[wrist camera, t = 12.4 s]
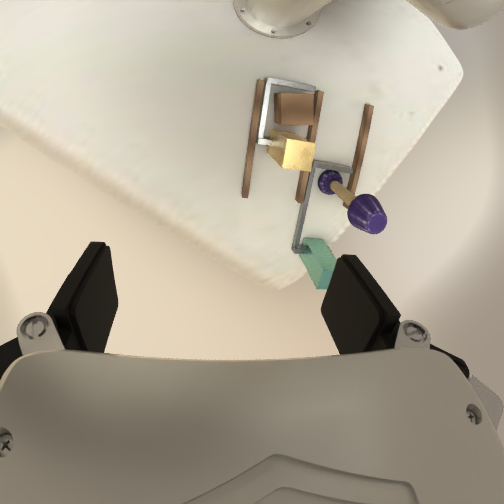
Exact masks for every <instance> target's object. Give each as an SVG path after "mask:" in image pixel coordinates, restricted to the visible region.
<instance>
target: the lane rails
mask: <svg viewBox="0 0 504 504" xmlns="http://www.w3.org/2000/svg"><path fill="white" fill-rule="evenodd" d="M264 82H265V80H260V79H259V80H257V86H256V93H255V100H254V106H253V113H252V120H251V128H250V135H249V142H248V149H247V157H246V164H245V172H244V179H243V187H242V197H243V198H248V193H249V186H250V179H251V172H252V164H253V157H254V150H255V143H256V136H257V129H258V123H259V116H260V109H261V102H262V95H263V89H264ZM323 93H324V92H322V91H315V94H314V100H313V103H314V118H313V125H309V129H308V135H307V139H308V140H310V141H312V142H314V143H315V139H316V134H317V128H318V122H319V117H320V111H321V105H322V99H323ZM373 109H374V106H372V105H367V104H365V107H364V112H363V118H362V123H361V128H360V133H359V138H358V143H357V147H356V152H355V156H354V161H353V165H352V169H353V174H350V178H349V182H348V186H347V190H348V191H350V192H351V193H352V194H353V195H354V194H355V191H356V187H357V183H358V179H359V174H360V170H361V166H362V162H363V157H364V153H365V148H366V144H367V139H368V134H369V129H370V124H371V119H372V114H373ZM308 175H309V171H302V170H301V173H300V178H299V183H298V188H297V193H296V198H295V200H296V201H297V202H298V203H303V200H304V195H305V190H306V185H307V180H308ZM343 206H344V207H345V208H347V209H348V207H349V206H348V205H347V204H346V203H345V202H343Z"/></svg>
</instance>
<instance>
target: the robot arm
mask: <svg viewBox="0 0 504 504" xmlns="http://www.w3.org/2000/svg"><path fill="white" fill-rule="evenodd" d="M331 1H332V0H234V7H235V10H236V13H237V14H238V16H239V18H240V19H241V20H242V21H243V23H244V24H245V25H247V26H248V27H249V28H250V29H252V30H254V31H255V32H257V33H259V34H262V35H265V36H269V37H273V38H290V37H294V36H298V35H300V34H302V33H304V32H306V31H307V30H309V29H310V28H311V27H312V26H313V25H314V24H315V23H316V21H317V19H318V17H319V14H320V9H321V8H322V7H324V6H325V5H326V4H328V3H329V2H331ZM406 1H408V2H409V3H410V4H412V5H413V6H414V7H416V8H417V9H418V10H419V11H421V12H422V13H423V14H424V15H426V16H427V17H428V18H430V19H431V20H433V21H434V22H436V23H437V24H439V25H442V26H444V27H446V28H450V29H457V30H458V29H459V30H462V29H468V28H473V27H476V26H478V25H480V24H482V23H484V22H486V21H488V20H490V19H491V18H493V17H494V16H496V15H497V14H498V13H500V12H501V11H503V10H504V0H406ZM241 11H244V13H241ZM306 23H308V25H307V24H306ZM272 31H273V32H274V34H272V33H271V32H272ZM117 308H118V297H117V291H116V285H115V280H114V273H113V266H112V259H111V251H110V247H109V246H106V244H105V242H90V244H89V245H88V247H87V248H86V250H85V251H84V253H83V254H82V256H81V257H80V259H79V260H78V262H77V263H76V265H75V267H74V268H73V270H72V271H71V273H70V274H69V275H68V276H67V278H66V280H65V281H64V283H63V285H62V286H61V288H60V290H59V291H58V293H57V295H56V297H55V298H54V300H53V302H52V304H51V305H50V307H49V309H48V311H47V313H42V312H35V313H31V314H29V315H27V316H25V317H24V318H23V319H22V320H21V321H20V323H19V324H18V327H17V338H15V339H13V340H11V341H9V342H7V343H5V344H3V345H1V346H0V504H504V448H503V445H502V443H501V440H500V438H499V436H498V434H497V432H496V429H497V427H498V424H499V421H500V418H501V415H502V412H503V403H502V401H501V399H500V398H499V397H498V395H496V394H495V393H494V392H493V391H492V390H490V389H489V388H488V387H487V386H485V385H484V384H483V383H482V382H480V381H479V380H478V379H477V378H476V377H474V376H473V375H472V376H471V377H469V369H468V367H467V365H466V363H465V362H464V361H463V360H462V359H460V358H458V357H456V356H454V355H452V354H450V353H448V352H446V351H444V350H442V349H440V348H438V347H435V346H434V345H432V344H430V334H429V332H428V330H427V329H426V328H425V327H424V326H423V325H421V324H420V323H418V322H416V321H413V320H405V321H403V322H401V323H400V321H399V318H400V316H401V314H400V313H399V311H398V310H397V309H396V307H395V306H394V305H393V303H392V302H391V301H390V299H389V298H388V297H387V295H386V294H385V292H384V291H383V290H382V288H381V287H380V286H379V284H378V283H377V282H376V280H375V279H374V278H373V276H372V275H371V274H370V272H369V271H368V270H367V269H366V267H365V266H364V265H363V264H362V262H361V261H360V260H359V259H358V257H357V256H356V255H346V254H344V255H342V256H341V258H338V259H337V261H336V264H335V268H334V271H333V274H332V277H331V280H330V283H329V286H328V289H327V292H326V295H325V298H324V300H323V303H322V306H321V313H322V315H323V318H324V320H325V322H326V324H327V326H328V329H329V331H330V333H331V335H332V337H333V340H334V342H335V344H336V347H337V349H338V351H339V353H340V355H331V356H320V357H306V358H291V359H268V360H267V359H266V360H193V359H170V358H154V357H141V356H130V355H119V354H109V353H104V350H105V347H106V343H107V340H108V336H109V333H110V330H111V327H112V324H113V321H114V317H115V314H116V311H117Z"/></svg>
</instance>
